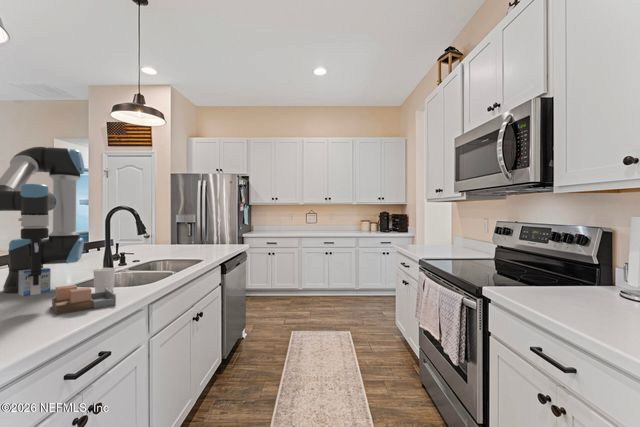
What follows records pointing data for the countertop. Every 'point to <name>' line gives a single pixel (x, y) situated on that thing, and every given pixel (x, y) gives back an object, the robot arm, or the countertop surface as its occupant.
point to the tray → (103, 299)
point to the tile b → (79, 295)
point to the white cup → (104, 279)
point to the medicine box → (25, 281)
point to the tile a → (64, 291)
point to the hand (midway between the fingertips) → (34, 292)
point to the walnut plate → (70, 306)
